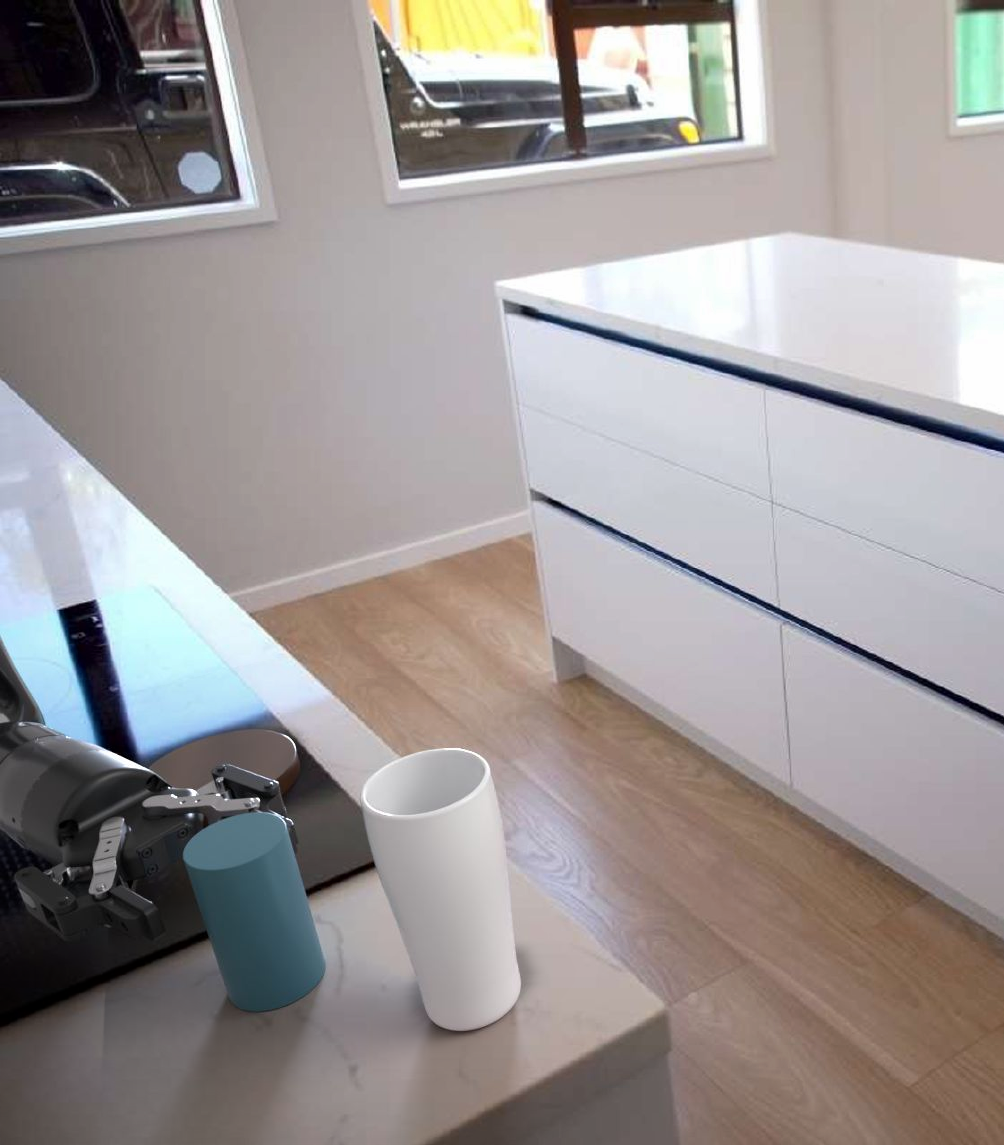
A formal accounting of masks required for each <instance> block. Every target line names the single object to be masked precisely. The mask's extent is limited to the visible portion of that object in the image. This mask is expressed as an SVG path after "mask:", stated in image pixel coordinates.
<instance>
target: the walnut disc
mask: <svg viewBox="0 0 1004 1145" xmlns="http://www.w3.org/2000/svg"><path fill="white" fill-rule="evenodd" d="M298 754H299V753H298V750H297V748H296V744H295V743H294V741H293V740H292V739H291V738H290V737H289V736H287V735H285V734H283V733H280V732H277V731H273V730H267V729H266V730H265V729H243V730H242V729H241V730H233V731H228V732H222V733H219V734H213V735H211V736H207V737H204V738H203V737H202V738H200V739H197V740H195V741H192V742H190V743H187V744H184V745H182V746H180V747H178V748H176V749H173V750H172V751H170V752H168V753H167V754H165V755H164V756H162V757H160V758H159V759H158V760H156V761H155V762H153V763H152V764H151V765H150V766H149V767H147V769H148V770H150V771H152V772H154V773H156V774H157V775H158V776H160V777H161V778H162V779H163V780H165V781H166V782H167V783H168V784H169V785H170V786H172V787H173V788H176V789H192V790H194V791H196V790H198V789H199V788H201V787H203V786H204V785H206V784H208V783H210V782H211V781H213V780H214V779H213V776H212V773H211V770H212V769H213V768H214V767H216V766H218V765H221V764H229V765H232V766H235V767H238V768H240V769H243V770H246V771H249V772H252V773H254V774H257V775H260V776H263V777H265V778H268V779H271V780H274V781H277V782H278V783H279V787H280V793H281V796H283V795H284V794H286V792H288V791H289V790H290V789H291V787H292V786H293V785H294V784H295V783H296V781H297V780H298V778H299V776H300V773H301V761H300V758H299V755H298ZM228 817H232V816H228ZM208 826H209V825H208V822H207V819H206V817H205V816H204V822H203V828H206V827H208Z"/></svg>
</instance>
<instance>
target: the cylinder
mask: <svg viewBox="0 0 1004 1145" xmlns="http://www.w3.org/2000/svg"><path fill="white" fill-rule="evenodd" d="M182 860H183V862H184V866H185V869H186V872H187V875H188V878H189V881H190V884H191V887H192V890H193V893H194V896H195V900H196V903H197V906H198V908H199V911H200V915H201V917H202V921H203V923H204V927H205V929H206V930H205V931H206V933H207V937H208V938H209V942H210V945H211V948H212V951H213V954H214V957H215V960H216V963H217V966H218V969H219V973H220V975H221V978H222V981H223V984H224V988H225V990H226V993H227V996H228V999H229V1001H230V1003H231V1004H232V1005H233V1006H234V1007H235V1008H238V1009H239V1010H242V1011H246V1012H254V1013H255V1012H257V1013H258V1012H259V1013H260V1012H268V1011H273V1010H277V1009H280V1008H283V1007H286V1006H288V1005H290V1004H293V1003H295V1002H297V1001H298V1000H300V999H302V998H303V997H305V996H306V995H308V994H309V993H310V992H311V991H313V989H314V988H316V987H317V986H318V984H319V983H320V982H321V980H322V979H323V977H324V975H325V972H326V967H327V965H326V960H325V956H324V953H323V950H322V946H321V945H322V944H321V942H320V938H319V935H318V931H317V928H316V925H315V921H314V917H313V914H312V910H311V908H310V904H309V900H308V896H307V893H306V890H305V886H304V883H303V879H302V876H301V872H300V869H299V865H298V862H297V858H296V854H294V851H293V847H292V844H291V840H290V837H289V833H288V830H287V826H286V823H285V822H284V820H283V819H282V818H280V817H279V816H277V815H274V814H270V813H259V812H257V813H246V814H240V815H236V816H232V817H229V818H226V819H223V820H221V821H218V822H216V823H214V824H212V825H210V826H208V827H204V828H203V829H202V830H201V831H200V832H199V833H197V834H196V835H195V836H194V837H193V838H192V839H191V840H190V841H189V842H188V843H187V845H186V846H185V848H184V851H183V859H182Z"/></svg>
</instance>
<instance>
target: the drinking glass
mask: <svg viewBox="0 0 1004 1145" xmlns="http://www.w3.org/2000/svg"><path fill="white" fill-rule="evenodd" d="M359 793H360V794H359V801H360V806H361V812H362V817H363V823H364V828H365V832H366V838H367V841H368V845H369V850H370V853H371V857H372V859H373V864H374V866H375V869H376V873H377V875H378V879H379V881H380V884H381V887H382V889H383V892H384V894H385V897H386V899H387V902H388V905H389V907H390V910H391V911H390V912H391V913H392V916H393V919H394V921H395V923H396V926H397V929H398V931H399V934H400V937H401V940H402V943H403V945H404V948H405V952H406V953H407V956H408V959H409V961H410V965H411V967H412V970H413V973H414V975H415V978H416V981H417V984H418V987H419V991H420V995H421V998H422V1002H423V1006H424V1009H425V1012H426V1014H427V1017H428V1018H429V1019H430V1020H431V1021H432V1022H433V1023H434V1024H435V1025H436V1026H438V1027H440V1028H441V1029H442V1028H443V1029H445V1030H449V1031H454V1032H455V1031H456V1032H465V1031H466V1032H468V1031H474V1030H477V1029H481V1028H484V1027H486V1026H489V1025H491V1024H493V1023H495V1022H497V1021H498V1020H500V1019H501V1018H503V1017H504V1016H505V1015H506V1014H507V1013H509V1011H511V1009H512V1008H513V1007H514V1006H515V1004H516V1003H517V1001H518V998H519V997H520V994H521V989H522V988H521V987H522V979H521V974H520V969H519V963H518V959H517V951H516V950H517V949H516V941H515V932H514V920H513V912H512V911H513V910H512V901H511V891H510V881H509V869H508V858H507V849H506V847H507V846H506V839H505V832H504V824H503V819H502V814H501V808H500V804H499V799H498V795H497V794H498V793H497V791H496V787H495V783H494V779H493V776H492V771H491V768H490V765H489V763H488V761H487V760H486V759H485V758H483V757H482V756H481V755H479V754H478V753H475V752H473V751H470V750H467V749H461V748H435V749H434V748H433V749H427V750H422V751H418V752H414V753H411V754H408V755H405V756H401V757H399V758H397V759H395V760H393V761H391V762H388V763H387V764H386V765H384V766H382V767H381V768H379V769H377V771H375V772H374V773H373V774H372V775H371V776H369V778H368V779H367V780H366V781H365V782H364V784H363V785H362V788H361V790H360V792H359Z"/></svg>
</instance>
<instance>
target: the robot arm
mask: <svg viewBox="0 0 1004 1145" xmlns="http://www.w3.org/2000/svg"><path fill="white" fill-rule="evenodd" d="M46 723H47V722H46V720H45V717H44V714H43V712H42V711H41V709H40V706H39V704H38V703H37V701H36V699H35V698H34V696H33V694H32V693H31V691H30V689H29V688H28V686H27V684H26V683H25V681H24V679H23V678H22V676H21V674H20V672H19V671H18V669H17V667H16V665H15V664H14V661H13V659H12V657H11V655H10V653H9V651H8V649H7V647H6V645H5V643H4V641H3V638H2V636H1V635H0V830H1V831H3V832H4V833H5V834H6V835H7V836H8V837H10V838H11V839H12V840H13V841H14V842H15V843H16V844H17V845H19V846H20V847H21V848H22V849H24V850H26V851H28V852H31V853H33V854H34V855H36V856H38V857H39V858H41V859H43V860H44V861H46V862H48V863H50V864H51V865H53V867H51V868H49V869H45V870H44V871H42V870H40V869H39V868H38V867H36V866H26V867H23V868H22V869H19V870H18V871H17V872H15V873H14V875H13V879H14V882H15V883H16V886H17V889H18V891H19V893H20V895H21V896H20V897H21V898H22V901H23V903H24V907H25V908H26V911H27V912H28V913H29V914H30V915H32V916H33V917H34V918H35V919H36V920H38V921H39V922H40V923H42V924H43V925H44V926H46V927H47V928H48V929H49V930H50V931H52V932H53V933H54V934H56V935H57V936H58V937H59V938H61V939H62V940H63V941H64V942H65V943H75V942H78V941H80V940H82V939H83V938H85V937H86V936H87V935H88V933H89V930H88V929H91V928H93V927H96V926H100V925H101V927H102V928H104V929H105V928H106V929H108V928H112V929H114V930H117V932H119V933H121V934H123V935H124V936H126V937H128V938H130V939H131V940H137V941H138V940H139V941H140V940H142V939H143V938H146V939H147V940H149V941H151V942H155V941H157V940H159V938H161V937H163V936H164V935H166V934H167V931H166V928H165V924H164V921H163V919H162V915H161V913H160V910H159V908H158V907H157V906H156V904H155V903H153V902H152V901H150V900H148V899H147V898H145V897H143V896H141V895H140V894H138V893H136V889H137V885H138V881H140V880H141V879H144V878H146V879H148V880H149V879H150V878H152V877H154V876H156V875H158V874H159V873H161V872H162V871H163V870H164V869H166V868H167V867H168V866H170V865H171V864H174V863H175V862H178V861H180V860H183V851H184V848H185V846H186V845H187V843H188V842H189V841H190V840H191V839H192V838H193V837H194V836H195V835H196V834H197V833H199V832H200V831H201V830H203V829H204V827H203V822H204V816H205V817H206V819H207V822H208V825H209V826H210V825H212V824H214V823H216V822H218V821H221V820H223V819H226V818H229V817H228V816H236V815H240V814H246V813H257V812H259V813H270V814H274V815H277V816H279V817H280V818H282V819H283V820H284V822H285V823H286V826H287V830H288V833H289V837H290V840H291V844H292V847H293V851H294V854H295V855H297V854H298V850H299V849H298V847H297V845H298V844H299V839H298V835H297V832H296V829H295V824H294V823H293V821H292V820H291V819H289V818H288V812H287V809H286V808H287V807H285V804H284V801H283V797H282V796H283V795H282V796H281V793H280V787H279V783H278V782H277V781H274V780H271V779H268V778H265V777H263V776H260V775H257V774H254V773H252V772H249V771H246V770H243V769H240V768H238V767H235V766H232V765H229V764H221V765H218V766H216V767H214V768H213V769H212V770H211V773H212V776H213V779H214V780H213V781H211V782H210V783H208V784H206V785H204V786H203V787H201V788H199V789H198V790H196V791H194V790H192V789H176V788H173V787H172V786H170V785H169V784H168V783H167V782H166V781H165V780H163V779H162V778H161V777H160V776H158V775H157V774H156V773H154V772H152V771H150V770H148V768H146V767H144V766H142V765H140V764H138V763H136V762H134V761H132V760H129V759H127V758H125V757H123V756H121V755H118V754H117V753H114V752H112V751H110V750H108V749H106V748H104V747H102V746H99V745H97V744H95V743H92V742H89V741H85V740H81V739H76V738H73V737H71V736H69V735H67V734H65V733H63V732H61V731H59V730H57V729H55V728H53V727H50V726H47V724H46ZM72 882H73V883H74V884H77V885H89V888H88V894H85V895H83V896H79V897H76V896H75V895H74V894H72V893H71V892H70V891H69V889H68V885H69V884H70V883H72Z"/></svg>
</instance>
